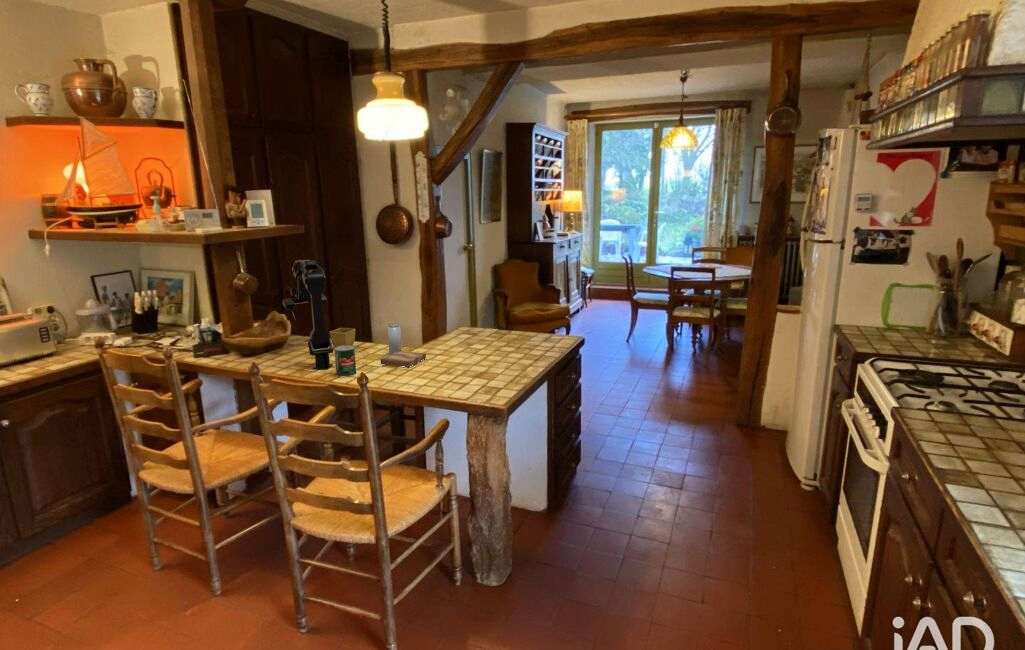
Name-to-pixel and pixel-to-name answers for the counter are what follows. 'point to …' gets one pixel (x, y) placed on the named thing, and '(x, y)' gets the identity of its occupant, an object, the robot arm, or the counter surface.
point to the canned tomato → (345, 360)
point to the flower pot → (342, 337)
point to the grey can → (394, 338)
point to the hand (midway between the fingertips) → (305, 318)
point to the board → (403, 358)
